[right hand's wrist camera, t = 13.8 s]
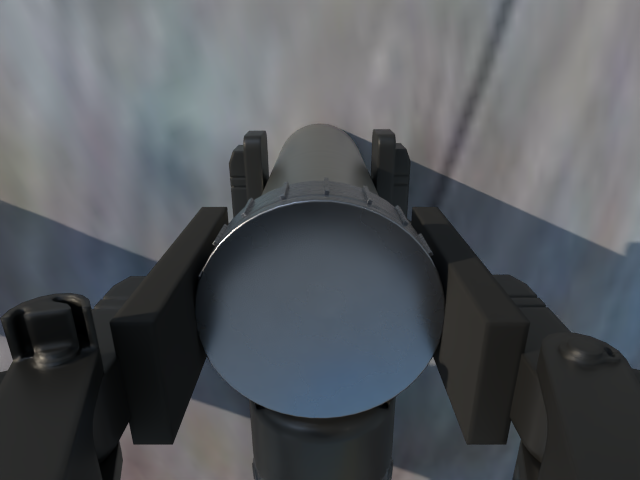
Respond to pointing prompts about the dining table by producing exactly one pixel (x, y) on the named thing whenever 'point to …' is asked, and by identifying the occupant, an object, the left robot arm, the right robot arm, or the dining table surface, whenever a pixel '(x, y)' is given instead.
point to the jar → (319, 159)
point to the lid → (319, 301)
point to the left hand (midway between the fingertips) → (320, 134)
